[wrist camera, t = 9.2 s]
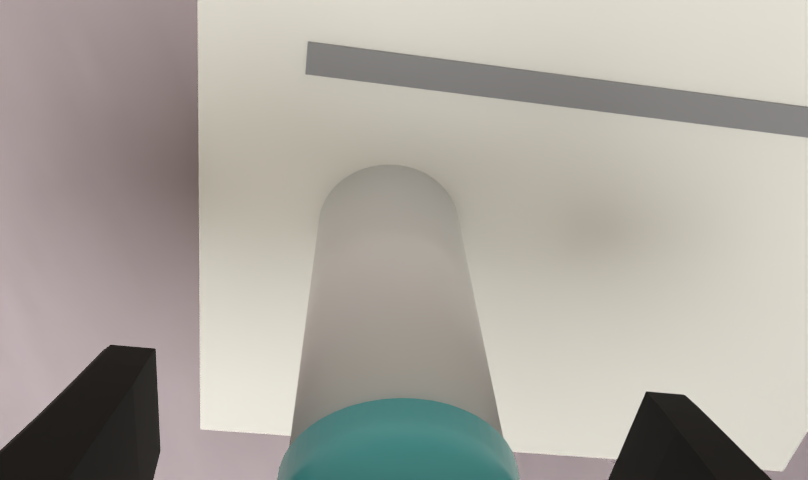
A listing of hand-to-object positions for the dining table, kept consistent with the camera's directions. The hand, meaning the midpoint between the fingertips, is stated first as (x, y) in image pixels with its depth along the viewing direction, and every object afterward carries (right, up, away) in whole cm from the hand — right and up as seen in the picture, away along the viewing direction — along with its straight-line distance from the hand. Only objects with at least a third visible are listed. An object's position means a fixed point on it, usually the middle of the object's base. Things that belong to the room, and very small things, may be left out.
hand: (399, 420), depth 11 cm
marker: (0, +3, +5) cm, 6 cm away
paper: (+4, +3, +5) cm, 7 cm away
